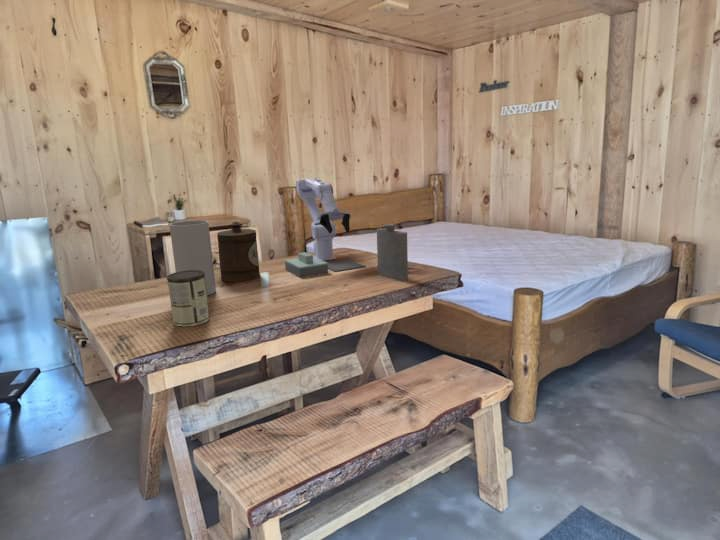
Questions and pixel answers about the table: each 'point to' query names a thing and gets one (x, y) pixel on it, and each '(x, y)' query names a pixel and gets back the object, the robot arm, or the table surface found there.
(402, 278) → the hip flask
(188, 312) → the coffee can
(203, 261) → the cylinder vase
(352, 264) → the mat
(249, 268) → the wooden container
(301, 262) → the lid
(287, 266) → the storage box
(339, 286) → the table surface
